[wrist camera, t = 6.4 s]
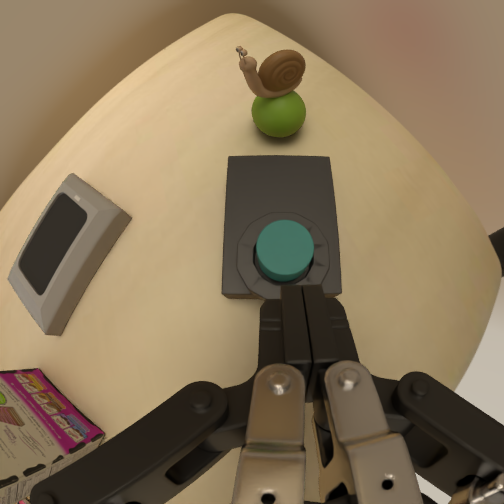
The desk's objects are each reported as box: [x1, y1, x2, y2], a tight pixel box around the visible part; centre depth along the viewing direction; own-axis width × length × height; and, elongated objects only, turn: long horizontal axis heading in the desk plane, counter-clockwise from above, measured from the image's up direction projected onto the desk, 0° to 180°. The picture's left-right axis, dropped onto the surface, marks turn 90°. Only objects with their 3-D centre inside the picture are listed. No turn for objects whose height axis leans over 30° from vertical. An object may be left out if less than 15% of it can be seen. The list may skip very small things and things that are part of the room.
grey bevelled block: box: [8, 173, 132, 336], centre depth 24 cm, size 10×4×15 cm
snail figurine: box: [236, 46, 306, 137], centre depth 22 cm, size 5×6×12 cm
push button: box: [256, 220, 314, 282], centre depth 19 cm, size 4×4×2 cm
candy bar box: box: [0, 368, 104, 504], centre depth 13 cm, size 11×5×16 cm, turn 61°
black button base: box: [222, 155, 342, 301], centre depth 23 cm, size 13×9×5 cm
